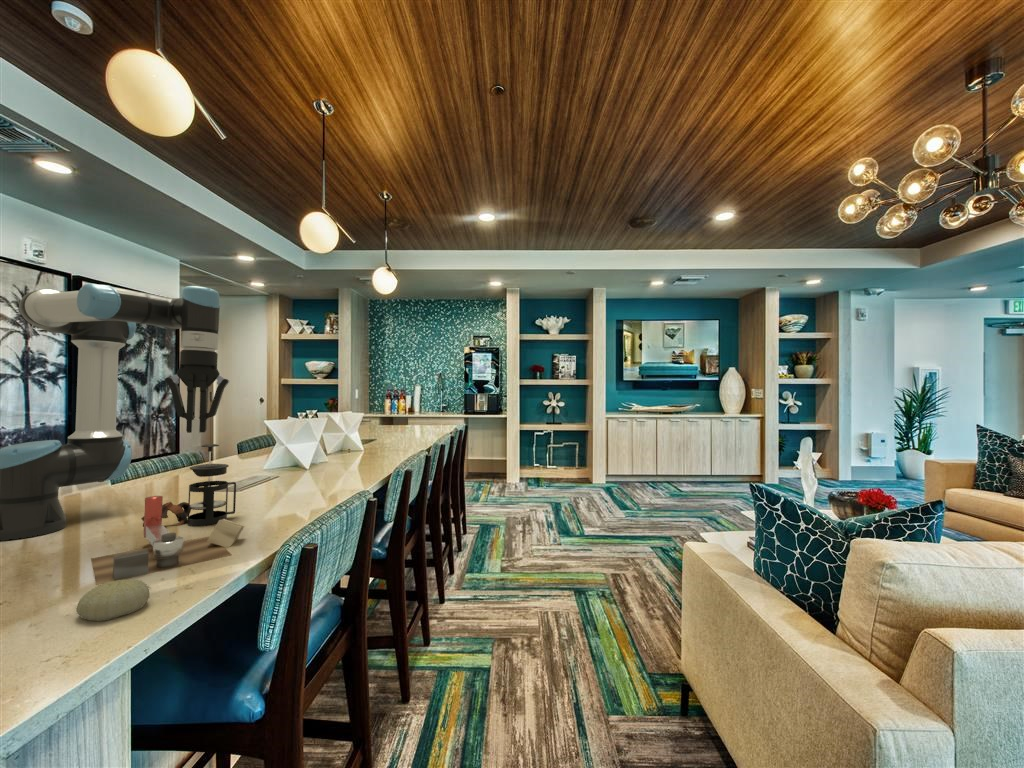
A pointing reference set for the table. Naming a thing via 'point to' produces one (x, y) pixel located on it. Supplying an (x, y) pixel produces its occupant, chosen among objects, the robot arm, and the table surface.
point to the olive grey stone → (113, 600)
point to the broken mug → (176, 512)
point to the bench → (153, 560)
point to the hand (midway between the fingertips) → (195, 445)
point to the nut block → (225, 533)
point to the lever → (159, 530)
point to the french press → (209, 494)
